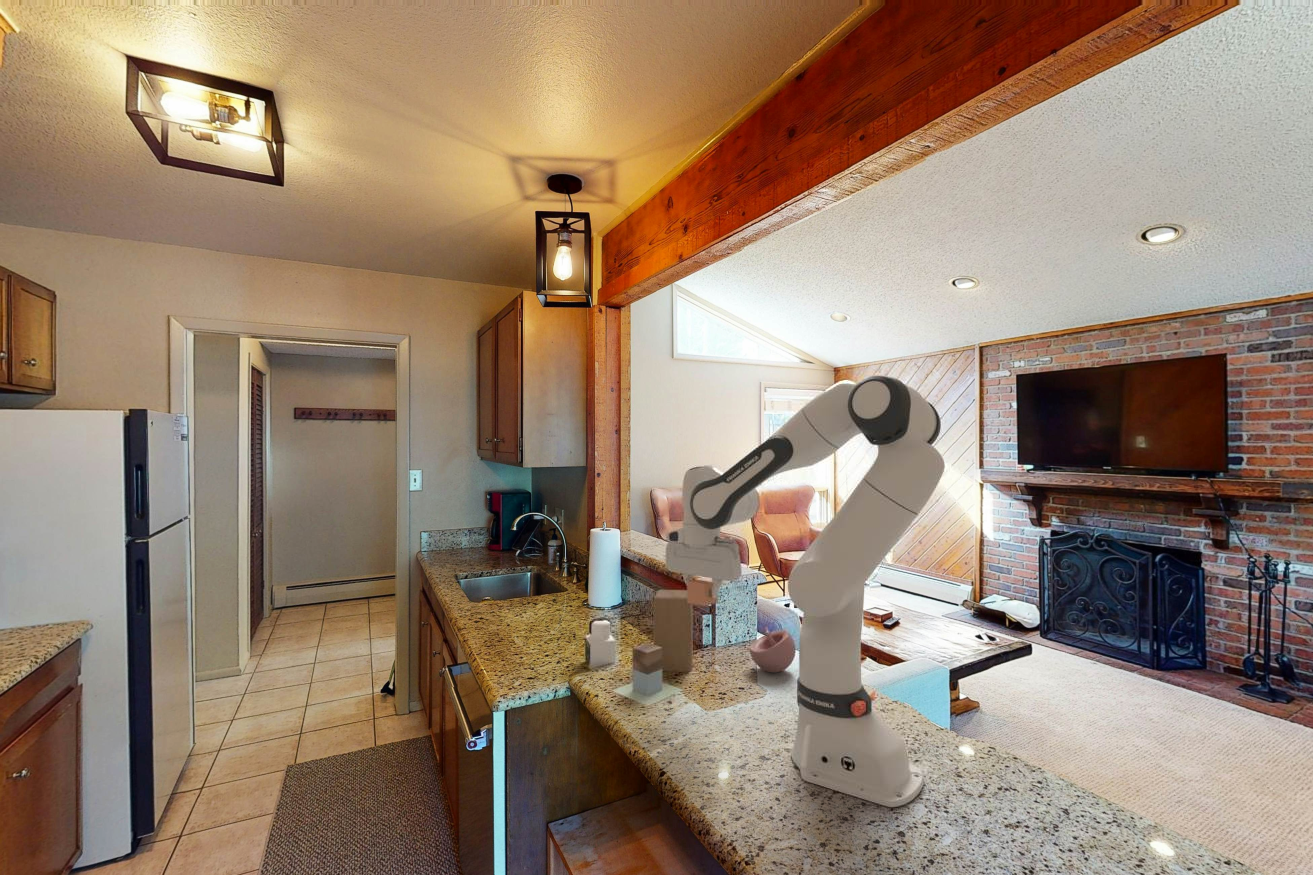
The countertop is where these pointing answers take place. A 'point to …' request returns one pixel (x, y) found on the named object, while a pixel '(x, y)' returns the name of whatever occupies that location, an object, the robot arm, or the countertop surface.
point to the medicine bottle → (599, 644)
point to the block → (673, 629)
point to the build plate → (629, 693)
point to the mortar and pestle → (773, 650)
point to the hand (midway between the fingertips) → (702, 595)
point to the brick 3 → (700, 592)
